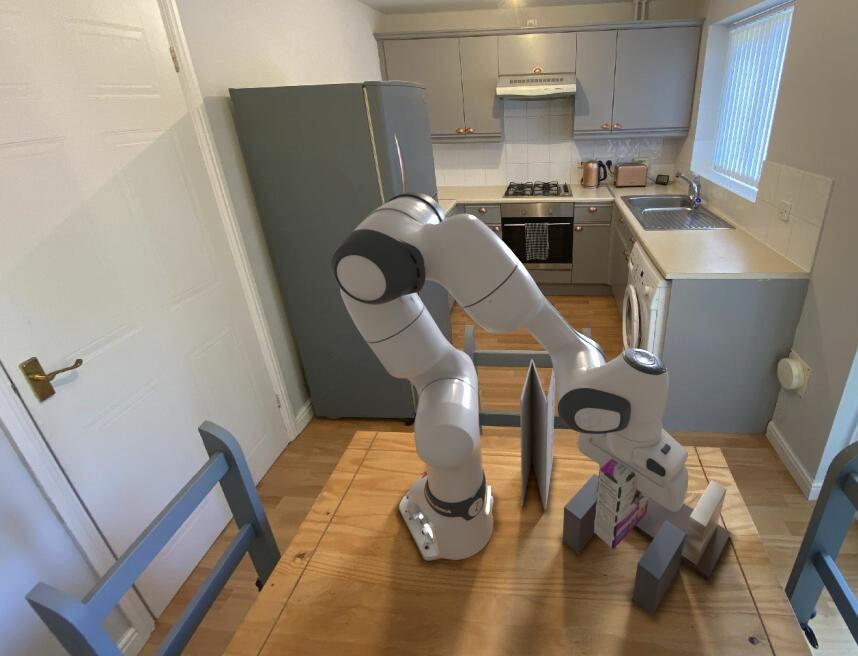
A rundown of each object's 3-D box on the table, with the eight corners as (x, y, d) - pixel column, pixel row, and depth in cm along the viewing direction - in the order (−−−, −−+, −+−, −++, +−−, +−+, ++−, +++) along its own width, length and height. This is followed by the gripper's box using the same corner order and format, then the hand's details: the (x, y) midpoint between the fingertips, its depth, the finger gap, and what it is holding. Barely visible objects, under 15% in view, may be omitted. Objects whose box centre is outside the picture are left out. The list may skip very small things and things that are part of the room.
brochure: (545, 510, 94) (547, 403, 82) (521, 506, 95) (520, 399, 83) (552, 460, 106) (555, 361, 95) (531, 457, 107) (531, 359, 96)
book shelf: (592, 498, 96) (595, 458, 91) (619, 467, 104) (623, 429, 99) (708, 581, 79) (719, 537, 75) (729, 536, 87) (741, 494, 83)
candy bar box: (625, 497, 86) (634, 436, 80) (646, 514, 83) (658, 451, 76) (590, 532, 79) (598, 468, 73) (612, 551, 76) (622, 486, 70)
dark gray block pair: (562, 540, 87) (563, 506, 83) (592, 505, 94) (594, 473, 91) (652, 615, 74) (659, 579, 70) (678, 568, 82) (686, 533, 78)
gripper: (572, 415, 77) (568, 471, 82) (682, 481, 64) (668, 541, 69) (592, 399, 81) (586, 452, 87) (698, 457, 68) (684, 516, 74)
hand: (624, 493), depth 78 cm, fingers closed on candy bar box, 5 cm apart
